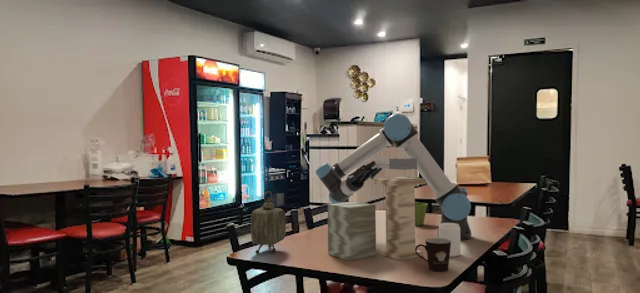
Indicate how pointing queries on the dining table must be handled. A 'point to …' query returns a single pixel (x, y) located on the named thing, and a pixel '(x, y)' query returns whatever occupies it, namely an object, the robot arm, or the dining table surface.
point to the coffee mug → (437, 253)
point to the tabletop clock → (268, 225)
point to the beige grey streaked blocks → (360, 223)
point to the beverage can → (451, 237)
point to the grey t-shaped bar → (399, 164)
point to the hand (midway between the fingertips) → (383, 158)
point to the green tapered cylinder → (420, 213)
